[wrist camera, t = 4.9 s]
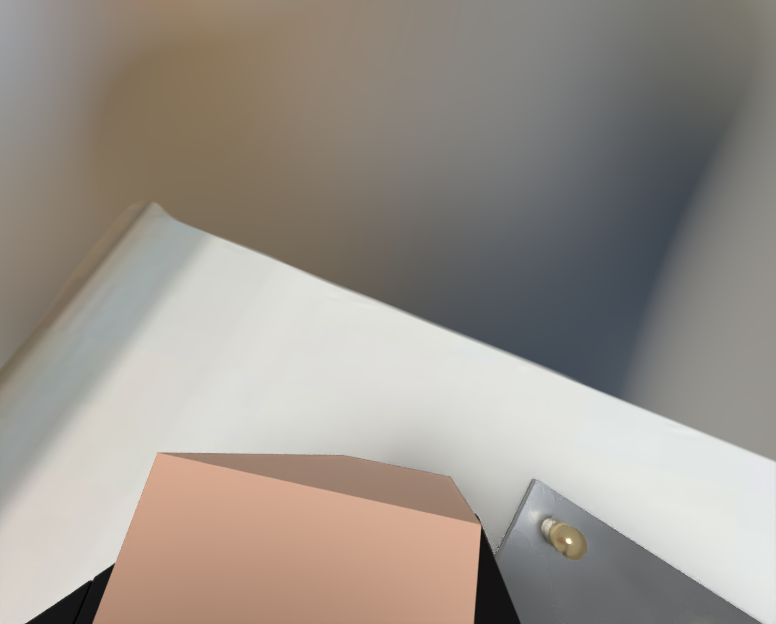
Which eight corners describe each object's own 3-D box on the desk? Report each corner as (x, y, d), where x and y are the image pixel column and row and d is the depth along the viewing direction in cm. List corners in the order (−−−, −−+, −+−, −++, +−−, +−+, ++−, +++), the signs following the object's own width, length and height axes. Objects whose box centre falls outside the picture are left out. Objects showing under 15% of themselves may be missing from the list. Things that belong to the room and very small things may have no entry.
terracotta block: (437, 596, 13) (437, 1087, 3) (320, 565, 14) (3, 859, 4) (450, 476, 14) (481, 524, 4) (343, 455, 15) (157, 452, 5)
